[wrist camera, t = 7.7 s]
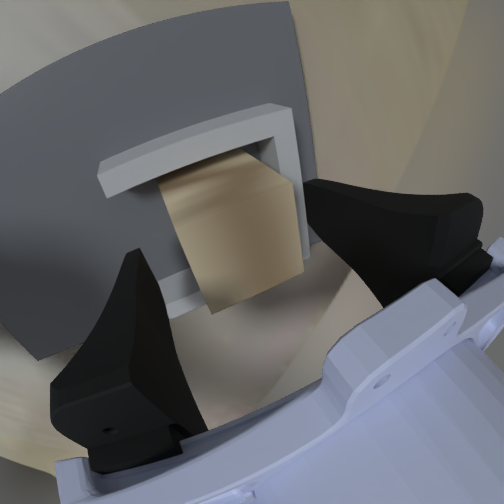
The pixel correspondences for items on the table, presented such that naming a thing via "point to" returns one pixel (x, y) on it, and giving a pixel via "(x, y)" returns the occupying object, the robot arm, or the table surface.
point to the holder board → (136, 158)
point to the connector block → (234, 225)
